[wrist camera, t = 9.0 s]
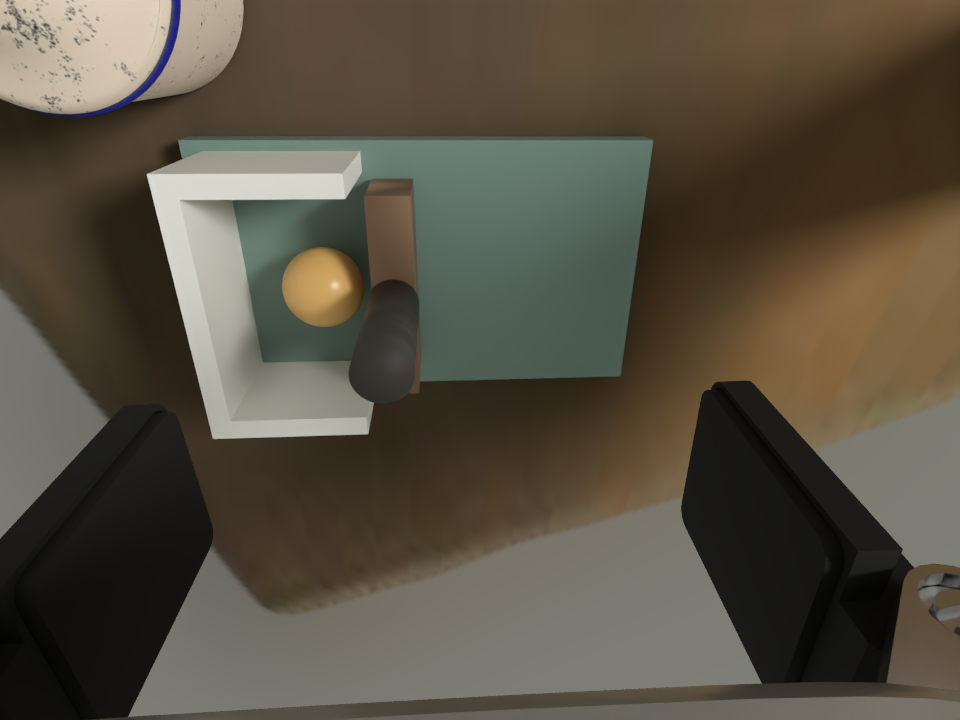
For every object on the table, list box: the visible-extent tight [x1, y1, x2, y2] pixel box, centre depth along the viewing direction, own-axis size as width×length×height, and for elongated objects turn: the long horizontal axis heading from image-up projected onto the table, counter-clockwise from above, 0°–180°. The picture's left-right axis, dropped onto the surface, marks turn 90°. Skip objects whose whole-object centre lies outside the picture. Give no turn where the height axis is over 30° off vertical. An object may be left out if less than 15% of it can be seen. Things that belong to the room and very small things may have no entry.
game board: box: [147, 136, 653, 439], centre depth 29 cm, size 23×14×8 cm, turn 90°
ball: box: [282, 247, 364, 327], centre depth 29 cm, size 4×4×4 cm
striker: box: [348, 178, 421, 404], centre depth 26 cm, size 2×10×11 cm, turn 179°
